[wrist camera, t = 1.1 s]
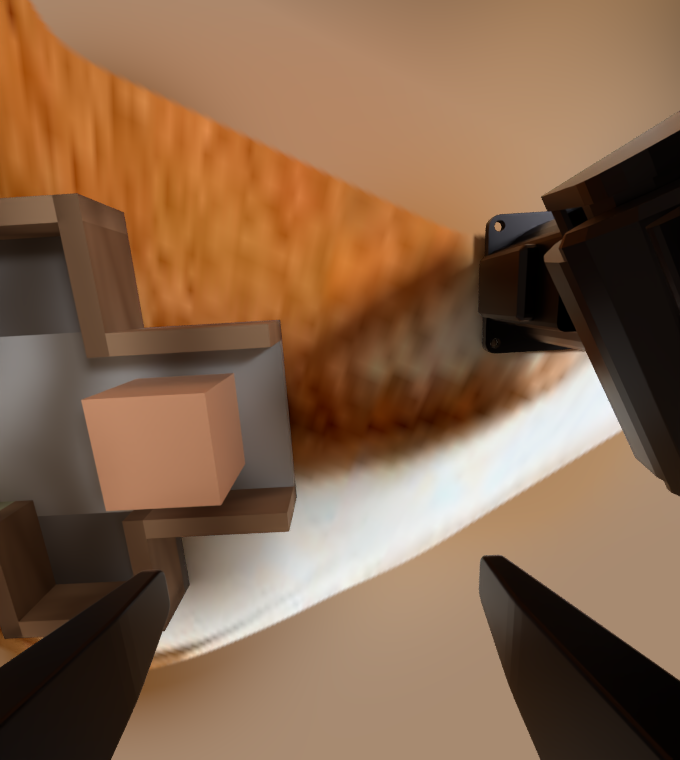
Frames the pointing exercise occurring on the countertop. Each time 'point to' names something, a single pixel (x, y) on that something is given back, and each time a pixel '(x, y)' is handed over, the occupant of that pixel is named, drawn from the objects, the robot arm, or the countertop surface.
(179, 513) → the trap lane
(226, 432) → the block
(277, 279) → the countertop surface
